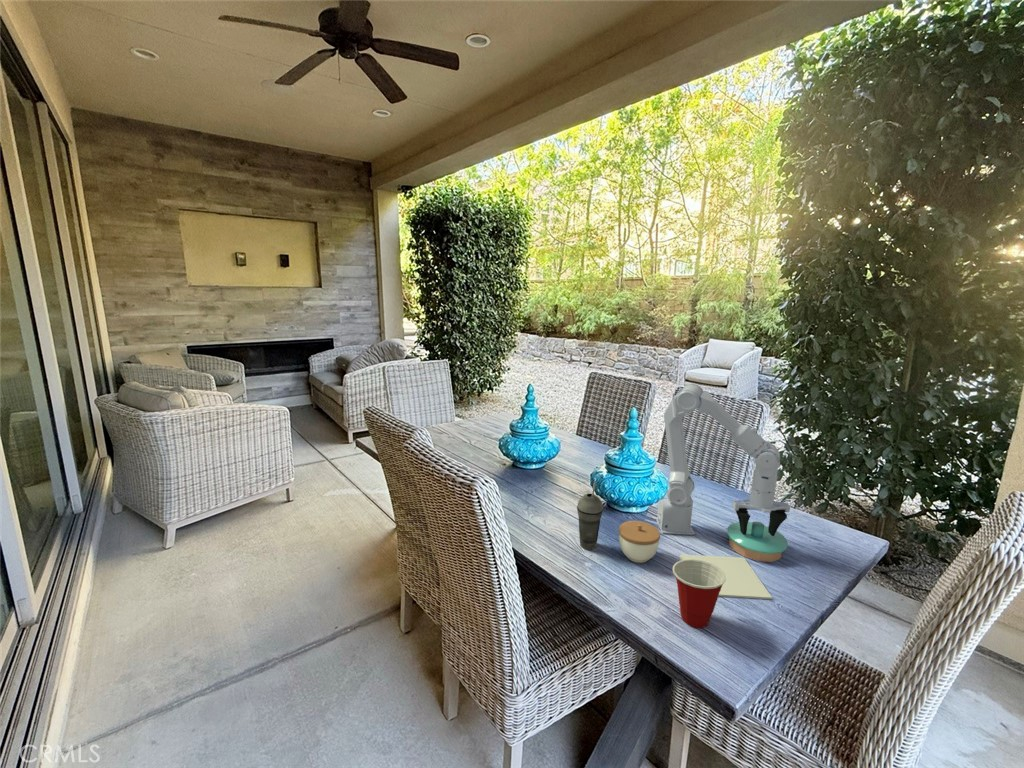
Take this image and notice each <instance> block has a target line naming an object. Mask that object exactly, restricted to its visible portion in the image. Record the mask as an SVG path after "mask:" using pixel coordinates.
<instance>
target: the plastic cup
mask: <svg viewBox="0 0 1024 768" xmlns="http://www.w3.org/2000/svg"><path fill="white" fill-rule="evenodd" d="M672 574H673V575H674V577H675V580H676V584H677V586H676V587H677V595H678V603H679V610H680V612H679V613H680V617H681V619H682V621H683V622H684V623H685V624H686V625H688V626H690V627H692V628H696V629H704V628H706V627H707V626H708V625H709V623H710V621H711V618H712V615H713V613H714V610H715V608H716V604H717V601H718V598H719V596H718V595H719V592H720V590H721V587H722V585H723V584H724V582H725V580H726V576H725V573H724V572H723V571H722V570H721V569H720V568H719V567H717V566H715V565H714V564H712V563H709V562H706V561H703V560H695V559H687V560H681V559H680V560H679V561H677V562H675V564H673V566H672Z"/></svg>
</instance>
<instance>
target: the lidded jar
mask: <svg viewBox="0 0 1024 768" xmlns="http://www.w3.org/2000/svg"><path fill="white" fill-rule="evenodd" d="M660 538H661V531H659V529H658V528H657V527H656V526H654V524H653V525H652V524H651V523H648V522H645V521H641V520H629V521H625V522H622V523H621V524H620V525H619V527H618V542H619V546H620V549H621V551H622V553H623V554H624V555H625V556H626V558H627V559H628V560H629V561H632V562H634V563H639V564H643V563H646V562H648V561H649V560H651V559H652V558H653V557H654V556H655V555H656V554H657V551H658V548H659V544H660Z"/></svg>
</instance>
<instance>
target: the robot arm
mask: <svg viewBox="0 0 1024 768" xmlns="http://www.w3.org/2000/svg"><path fill="white" fill-rule="evenodd" d="M697 409H698V410H697ZM695 410H697V412H696V413H697V414H705V415H706V414H707V415H709V416H710V417H712V418H713V420H715V421H717V422H718V424H720V425H721V426H722V427H724V428H725V429H726V430H727V431H728V432H729V433H730V434H731V440H732V441H733V442H734V443H735V444H736V445H737V446H738V447H739V448H741V449H742V450H743V451H744V452H745V453H746V454H747V455H748V456H749V457H751V458H753V459H754V464H755V467H754V470H753V473H752V480H751V481H752V482H751V487H750V497H749V498H747V499H740V500H732V504H731V508H732V509H734V511H735V512H736V516H737V518H738V522H739V523H740V531H741V532H742V534H743V535H746V532H747V525H748V522H749V521H750V518H751V514H749V511H748V510H750V511H759V512H760V511H761V512H763V513H767V514H769V522H768V527H769V528H768V532H769V533H770V534H771V536H774V535H775V533H776V531H778V529H779V528H780V526H781V525H782V524H783V523H784V522H785V520H787V518H788V513H790V510H791V506H790V504H788V503H787V502H781V501H775V494H776V489H777V480H778V472H779V468H780V465H781V462H780V461H781V454H780V451H779V448H777V447H776V445H775V444H773V443H771V441H769V440H767V441H766V439H764V438H763V437H762V436H761V435H760V434H759V433H757V432H758V431H757V430H758V429H756V428H755V426H752V427H750V425H748V424H741V423H740V422H738V421H737V419H735V418H734V417H733V416H732V415H731V414H730V413H729V412H728V411H727V410H726V409H725V408H724V407H723V406H722V405H721V404H720V403H719V402H718V401H717V400H716V399H715V398H714V397H713V396H712V395H711V394H710V393H709V392H708V391H706V390H703V388H702V387H701V386H700V385H698V384H695V383H689V384H686V385H685V386H683V387H682V388H681V389H680V390H679V391H677V393H676V394H675V395H674V396H673V397H672V398H671V401H670V402H669V404H668V406H667V407H666V408H665V411H664V413H663V418H664V429H665V435H666V436H665V437H666V444H667V445H666V446H667V452H668V453H667V454H668V462H669V472H670V473H669V479H668V480H669V481H668V483H669V488H668V490H667V495H666V496H667V498H664V499H659V501H658V505H657V517H656V520H655V521H656V522H657V526H658V527H659V528H660V533H662V534H667V535H670V534H671V535H687V536H689V535H690V536H691V535H692V536H695V535H696V534H695V531H694V529H693V528H692V526H691V523H692V515H693V505H694V500H693V498H692V496H691V495H692V494H693V492H694V490H695V487H696V486H695V481H694V480H693V478H692V477H691V472H690V469H689V468H688V458H687V449H686V442H685V441H686V440H685V434H684V432H685V431H684V425H683V418H684V417H685V416H687V414H690V413H691V412H694V411H695Z"/></svg>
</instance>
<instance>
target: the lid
mask: <svg viewBox="0 0 1024 768" xmlns="http://www.w3.org/2000/svg"><path fill="white" fill-rule="evenodd" d="M768 528H769V526H767V525H765V524H764V523H763V522H760V521H750V522H749V521H748V525H747V532H746V535H743V534H742V532H741V531H740V523H739V521H737V522H732V523H731V524H729V525H728V526H727V530H726V534H727V537H728V538H730V539H731V540H732V541H733V542H735V543H736V544H738V545H740V546H742V547H744V548H746V549H749V550H752V551H755V552H760V553H767V554H776V553H781V552H782V553H783V552H785V551H786V550H787V549H788V545H789V544H788V543H789V542H788V540H787V538H786V537H785V536H784V535H783V534H782V533H780V532H779V531H778V530H777V531H776V533H775V535H774V536H771V534H770V533H769V532H768Z"/></svg>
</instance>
